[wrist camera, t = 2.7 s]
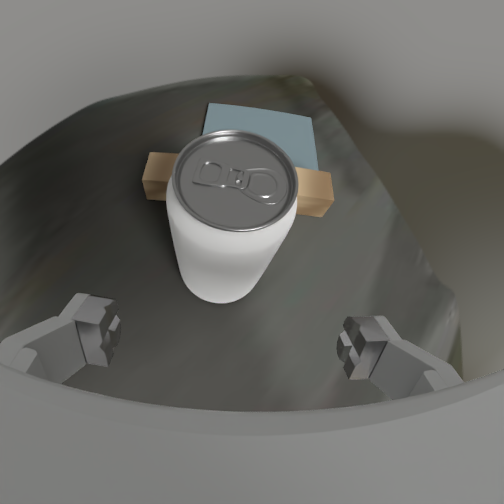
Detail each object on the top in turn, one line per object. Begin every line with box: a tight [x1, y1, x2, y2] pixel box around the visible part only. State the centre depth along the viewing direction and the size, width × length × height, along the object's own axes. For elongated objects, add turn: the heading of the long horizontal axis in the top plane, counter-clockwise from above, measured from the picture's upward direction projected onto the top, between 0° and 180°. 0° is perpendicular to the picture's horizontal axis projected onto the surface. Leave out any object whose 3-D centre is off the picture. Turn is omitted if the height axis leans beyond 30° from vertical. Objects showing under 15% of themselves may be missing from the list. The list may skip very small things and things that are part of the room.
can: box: [166, 130, 298, 303], centre depth 18 cm, size 6×6×12 cm
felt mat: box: [203, 103, 318, 171], centre depth 29 cm, size 12×10×1 cm
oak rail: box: [142, 152, 334, 217], centre depth 25 cm, size 16×3×3 cm, turn 88°
